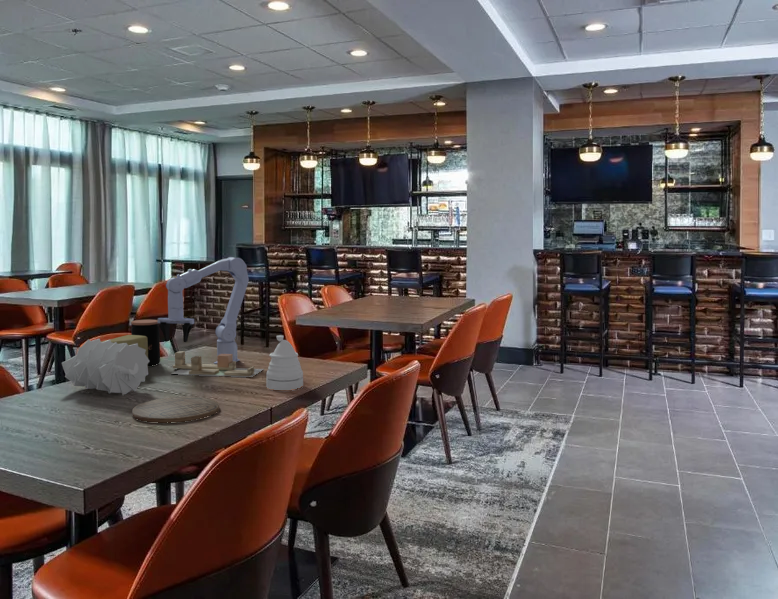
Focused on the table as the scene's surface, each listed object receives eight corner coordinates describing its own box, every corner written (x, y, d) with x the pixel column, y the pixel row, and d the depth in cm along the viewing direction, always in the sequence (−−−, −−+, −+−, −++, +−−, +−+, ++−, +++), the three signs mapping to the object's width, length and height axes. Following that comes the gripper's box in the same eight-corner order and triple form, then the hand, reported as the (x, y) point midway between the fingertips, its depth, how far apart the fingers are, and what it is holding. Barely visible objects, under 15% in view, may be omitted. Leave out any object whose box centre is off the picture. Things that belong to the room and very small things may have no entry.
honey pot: (258, 388, 229) (258, 337, 227) (281, 381, 240) (280, 332, 238) (288, 392, 223) (288, 340, 221) (310, 385, 234) (310, 335, 232)
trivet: (118, 412, 198) (118, 406, 198) (194, 398, 215) (194, 392, 215) (155, 430, 180) (155, 423, 180) (235, 413, 198) (235, 407, 197)
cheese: (107, 386, 230) (106, 343, 229) (85, 383, 233) (84, 342, 232) (149, 373, 251) (148, 334, 250) (128, 371, 254) (127, 333, 253)
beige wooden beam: (178, 365, 262) (177, 350, 262) (236, 367, 259) (235, 352, 259) (172, 368, 257) (172, 353, 257) (231, 370, 254) (231, 355, 254)
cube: (221, 364, 260) (221, 353, 259) (232, 365, 259) (232, 354, 259) (217, 367, 255) (217, 355, 255) (228, 367, 255) (228, 356, 254)
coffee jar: (126, 366, 264) (125, 322, 262) (143, 361, 274) (142, 319, 272) (149, 368, 260) (147, 323, 259) (165, 363, 271) (164, 320, 269)
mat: (186, 367, 263) (186, 366, 263) (263, 370, 259) (263, 368, 259) (170, 374, 249) (170, 373, 249) (252, 377, 245) (252, 376, 245)
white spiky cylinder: (95, 396, 232) (146, 401, 221) (52, 383, 217) (105, 388, 206) (110, 346, 238) (161, 349, 227) (70, 331, 223) (122, 333, 212)
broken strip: (194, 371, 254) (194, 355, 253) (254, 373, 251) (254, 357, 250) (188, 373, 249) (188, 358, 248) (250, 376, 246) (249, 360, 245)
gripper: (153, 308, 258) (154, 342, 259) (188, 309, 256) (189, 343, 258) (161, 306, 265) (162, 339, 266) (196, 307, 263) (196, 340, 264)
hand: (176, 341), depth 262 cm, fingers open, 7 cm apart
